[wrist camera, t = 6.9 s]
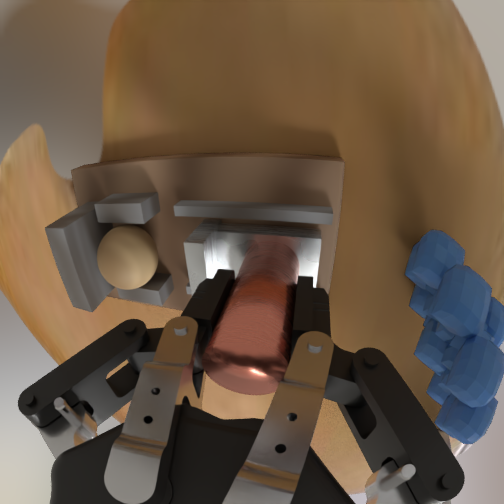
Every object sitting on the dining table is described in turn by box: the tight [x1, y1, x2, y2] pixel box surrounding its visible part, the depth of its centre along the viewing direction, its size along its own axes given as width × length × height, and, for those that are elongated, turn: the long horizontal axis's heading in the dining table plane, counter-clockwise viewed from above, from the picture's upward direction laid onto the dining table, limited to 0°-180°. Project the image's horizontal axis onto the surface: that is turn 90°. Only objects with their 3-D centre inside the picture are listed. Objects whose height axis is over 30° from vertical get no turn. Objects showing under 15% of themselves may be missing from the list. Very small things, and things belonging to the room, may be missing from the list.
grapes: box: [405, 230, 504, 444], centre depth 11 cm, size 12×7×12 cm, turn 27°
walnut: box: [97, 225, 158, 290], centre depth 16 cm, size 4×4×4 cm
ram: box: [184, 219, 322, 395], centre depth 12 cm, size 6×4×8 cm, turn 91°
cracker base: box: [45, 153, 345, 312], centre depth 16 cm, size 18×11×6 cm, turn 91°
